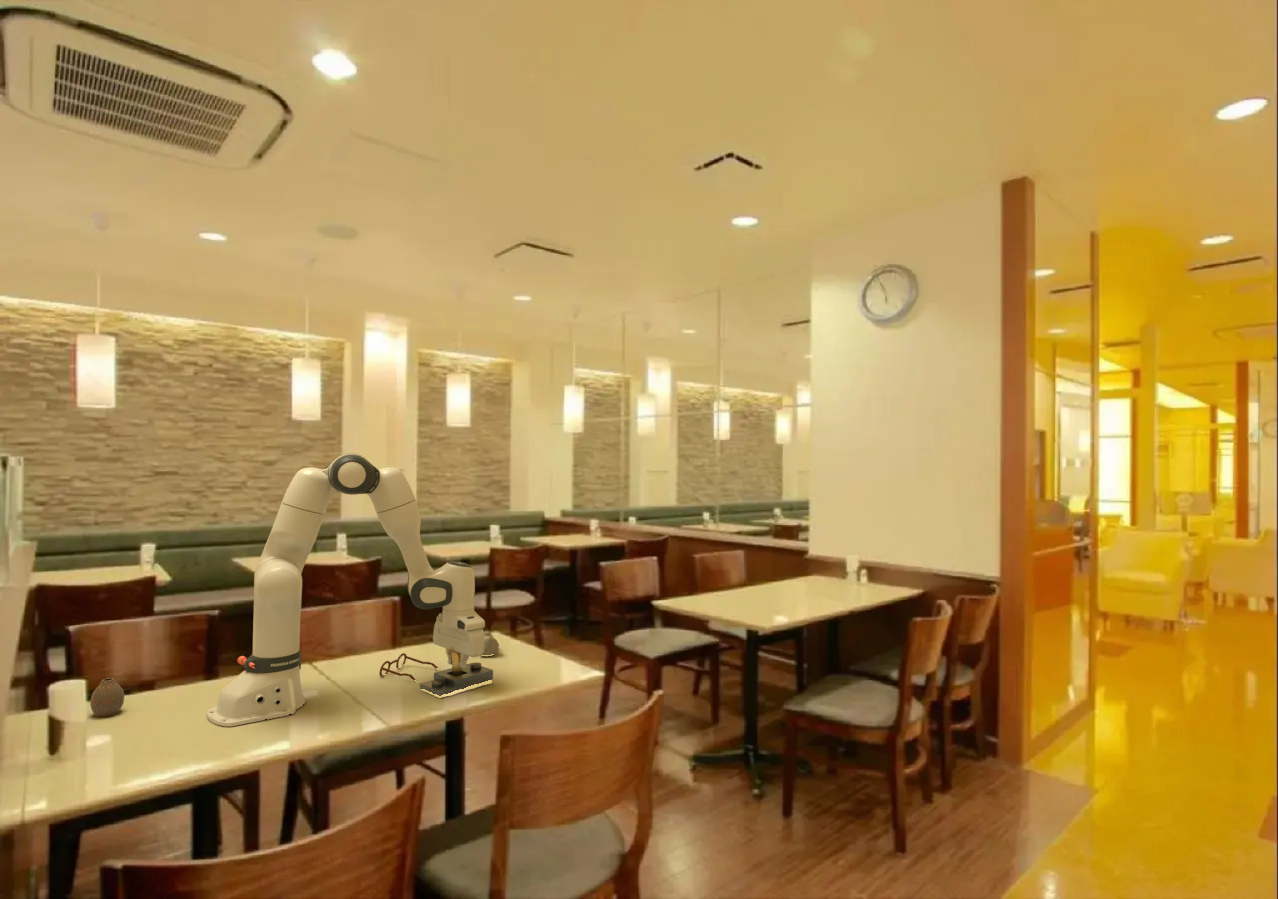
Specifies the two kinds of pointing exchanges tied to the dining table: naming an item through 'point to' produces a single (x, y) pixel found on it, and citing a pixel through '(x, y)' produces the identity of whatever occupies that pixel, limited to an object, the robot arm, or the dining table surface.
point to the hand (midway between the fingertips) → (457, 665)
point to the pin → (456, 663)
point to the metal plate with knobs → (457, 679)
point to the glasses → (402, 664)
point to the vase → (107, 698)
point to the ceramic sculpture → (490, 643)
